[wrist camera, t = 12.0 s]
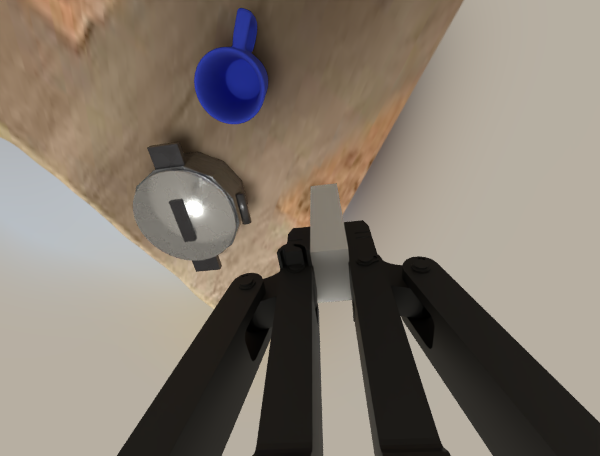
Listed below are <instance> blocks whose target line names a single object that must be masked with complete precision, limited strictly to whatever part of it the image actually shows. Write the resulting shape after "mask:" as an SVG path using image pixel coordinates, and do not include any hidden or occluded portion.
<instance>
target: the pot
mask: <svg viewBox="0 0 600 456" xmlns="http://www.w3.org/2000/svg"><path fill="white" fill-rule="evenodd" d="M147 149H148V151H149V154H150V156H151V159H152V161H153V164H154V166H155V170H154V171H153V172H152V173H151V174H149V175H148V176H147V177H146V178H145V179H144V180H143V181H142V182H141V183H140V184H139V185H138V186H137V187H136V191H137V189H138V188H139V186H140V185H141V184H142V183H143V182H144V181H145V180H146V179H148V178H149V177H150V176H152V175H154V174H155V173H158V172H161V171H165V170H174V169H177V170H186V171H190V172H193V173H197V174H199V175H201V176H203V177H205V178H207V179H209V180H210V181H212V182H213V183H214V184H216V185H217V186H218V187H219V188H220V189H221V190H222V191H223V192H224V193H225V195H226V196H227V197H228V199H229V200H230V202H231V204H232V206H233V209H234V212H235V216H236V230H235V234H234V236H233V239H232V241H231V243H230V244H229V246H230V245H232V244H233V241H234V239H235V236H236V234H237V231H238V229H239V226H240V224H241V221H242V222H243V224H249V223H251V217H250V213H249V210H248V206H247V204H248V203H247V199H246V195H245V191H244V187H243V183H242V180H241V179H240V178H239V177H238V176H237V175H236V174H235V173H234V172H233V171H232V170H231V169H230V167H229V166H228V165H227V164H226V163H225V162H224V161H222V160H219V159H216V158H214V157H211V156H209V155H206V154H203V153H201V152H191V153H183V150H182V147H181V144H180V142H174V143H167V144H160V145H153V146H149V147H148V148H147ZM135 193H136V192H135ZM229 246H228V247H229ZM192 262H193V265H194V267H195V270H196V272H197V271H208V270H218V269H221V266H222V265H221V262H220V259H219V256H218V255H217V256H215V257H212V258H209V259H206V260H196V261H193V260H192Z"/></svg>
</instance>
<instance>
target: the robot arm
mask: <svg viewBox="0 0 600 456" xmlns="http://www.w3.org/2000/svg"><path fill="white" fill-rule="evenodd" d="M277 256H278V260H279V265H280V272H279V273H277V274H275V275H273V276H271V277H268V278H265V279H262V276H260V275H259V274H256V273H247V274H243V275H241V276H239V277H237V278H236V279H235V280H234V281H233V282H232V283H231V285H230V286H229V288H228V289H227V291H226V292H225V294H224V295H223V297H222V298H221V300H220V301H219V303H218V304H217V306H216V307H215V309H214V310H213V312H212V314H211V315H210V316H209V318H208V320H207V321H206V322H205V324H204V325H203V327H202V329H201V330H200V332H199V333H198V335H197V336H196V338H195V339H194V341H193V342H192V344H191V345H190V347H189V348H188V350H187V351H186V353H185V354H184V356H183V357H182V359H181V360H180V362H179V363H178V365H177V366H176V368H175V369H174V371H173V372H172V374H171V375H170V377H169V378H168V380H167V381H166V383H165V384H164V386H163V387H162V389H161V390H160V392H159V393H158V395H157V396H156V398H155V399H154V401H153V402H152V404H151V405H150V407H149V408H148V410H147V411H146V413H145V414H144V416H143V417H142V419H141V420H140V422H139V423H138V425H137V426H136V428H135V429H134V431H133V432H132V434H131V435H130V437H129V438H128V440H127V441H126V443H125V444H124V446H123V447H122V449H121V450H120V452H119V453H118V455H117V456H222V453H223V451H224V448H225V446H226V443H227V441H228V439H229V437H230V434H231V432H232V430H233V427H234V425H235V422H236V420H237V418H238V415H239V413H240V411H241V408H242V406H243V403H244V401H245V398H246V396H247V394H248V392H249V389H250V387H251V384H252V382H253V380H254V377H255V375H256V372H257V370H258V368H259V365H260V363H261V361H262V358H263V356H264V353H265V351H266V348H267V346H268V344H269V342H270V339H271V342H270V350H269V357H268V364H267V372H266V379H265V387H264V394H263V402H262V409H261V417H260V423H259V431H258V438H257V445H256V450H255V453H254V455H252V456H323V435H322V434H323V433H322V403H321V402H322V399H321V368H320V336H319V335H320V333H319V309H318V303H321V302H333V301H346V300H352V305H353V318H354V322H355V327H356V334H357V340H358V347H359V354H360V360H361V367H362V374H363V380H364V387H365V393H366V400H367V407H368V414H369V420H370V427H371V434H372V440H373V447H374V454H375V456H450V453H449V452H448V451H447V450H446V449H445V448H444V447H443V446H442V444H441V441H440V438H439V436H438V432H437V430H436V426H435V423H434V420H433V417H432V414H431V410H430V407H429V404H428V402H427V398H426V395H425V392H424V389H423V386H422V383H421V379H420V376H419V373H418V370H417V367H416V364H415V361H414V358H413V354H412V351H411V348H410V345H409V342H408V339H407V336H406V332H405V329H404V326H403V323H402V320H401V317H402V319H403V321H404V323H405V324H406V326H407V327H408V329H409V330H410V332H411V333H412V335H413V336H414V338H415V339H416V341H417V342H418V344H419V345H420V347H421V348H422V350H423V351H424V353H425V354H426V356H427V357H428V359H429V360H430V362H431V363H432V365H433V366H434V368H435V369H436V371H437V372H438V374H439V375H440V377H441V378H442V380H443V381H444V383H445V384H446V386H447V387H448V389H449V390H450V392H451V393H452V395H453V396H454V398H455V399H456V401H457V402H458V404H459V405H460V407H461V408H462V410H463V411H464V413H465V414H466V416H467V417H468V419H469V420H470V422H471V423H472V425H473V426H474V428H475V429H476V431H477V432H478V434H479V435H480V437H481V438H482V440H483V441H484V443H485V444H486V446H487V447H488V449H489V450H490V452H491V453H492V455H493V456H600V423H599V422H598V421H597V420H596V419H595V418H594V417H593V416H592V415H591V414H590V413H589V412H588V411H587V410H586V409H585V408H584V407H583V406H582V405H581V404H580V403H579V402H578V401H577V400H576V399H575V398H574V397H573V396H572V395H571V394H570V393H569V392H568V391H567V390H566V389H565V388H564V387H563V386H562V385H561V384H560V383H559V382H558V381H557V380H556V379H555V378H554V377H553V376H552V375H551V374H549V373H548V371H547V370H545V369H544V368H543V367H542V366H541V365H540V364H539V363H538V362H537V361H536V360H535V359H534V358H533V357H532V356H531V355H530V354H529V353H528V352H527V351H526V350H525V349H524V348H523V347H522V346H521V345H520V344H519V343H518V342H517V341H516V340H515V339H514V338H513V337H512V336H511V335H510V334H509V333H508V332H507V331H506V330H505V329H504V328H503V327H502V326H501V325H500V324H499V323H498V322H496V320H495V319H493V317H491V315H489V314H488V313H487V312H486V311H485V310H484V309H483V308H482V307H481V306H480V305H479V304H478V303H477V302H476V301H475V300H474V299H473V298H472V297H471V296H470V295H469V294H468V293H467V292H466V291H465V290H464V289H463V288H462V287H461V286H460V285H459V284H458V283H457V282H456V281H455V280H454V279H453V278H452V277H451V276H450V275H449V274H448V273H447V272H446V271H445V270H444V269H443V268H442V267H441V266H440V265H439V264H438V263H436V262H435V261H433V260H432V259H429V258H426V257H411V258H409V259H407V260H406V261H405V262H404V263H403V265H395V264H390V263H387V262H385V261H383V260H382V258H381V257H380V256H379V255H378V254H377V252H376V248H375V245H374V242H373V239H372V236H371V232H370V229H369V226H368V225H367V224H366V223H365V222H364V221H363V220H362V221H353V222H343V216H342V211H341V205H340V199H339V194H338V188H337V183H336V184H328V185H319V186H311V215H310V227H303V228H293V229H292V230H291V232H290V233H289V234H288V242H287V244H286V245H283V246H282V247H281V248H279V249H278V251H277ZM317 300H318V301H317ZM400 316H401V317H400Z"/></svg>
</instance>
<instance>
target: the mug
mask: <svg viewBox="0 0 600 456" xmlns="http://www.w3.org/2000/svg"><path fill="white" fill-rule="evenodd" d="M256 35H257V21H256V18H255V17H254V15H253V14H252V13H251V11H249V10H247V9H244V8H239V9H238V11H237V16H236V21H235V27H234V34H233V45H232V46H231V47H220V48H216V49H214V50H211V51H210V52H208V53H207V54H206V55H205V56H204V57H203V58H202V59H201V60H200V62H199V64H198V66H197V68H196V72H195V79H194V83H195V91H196V94H197V97H198V99H199V101H200V103H201V105H202V106H203V108H204V109H205V110H206V111H207V112H208V113H209V114H210V115H211V116H212V117H214V118H215V119H217V120H219V121H221V122H224V123H228V124H240V123H244V122H246V121H248V120H250V119H251V118H253V117H254V116H255V115H256V114H257V113H258V112H259V110H260V108H261V106H262V104H263V101H264V98H265V95H266V92H267V89H268V75H267V72H266V69H265V67H264V66H263V64H262V63H261V61H260V60H259V59H258V58H256V57H255V56H254V55H253V54H252V53H251V52H252V51H253V49H254V45H255V41H256Z"/></svg>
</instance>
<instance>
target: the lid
mask: <svg viewBox="0 0 600 456" xmlns="http://www.w3.org/2000/svg"><path fill="white" fill-rule="evenodd" d="M133 212H134V217H135V220H136V223H137V225H138V227H139V229H140V230H141V232H142V233H143V235H144V236H145V237H146V238H147V239H148V240H149V241H150V242H151V243H152V244H153V245H154V246H155V247H157V248H158V249H160V250H161V251H163V252H165V253H167V254H169V255H171V256H174V257H176V258H180V259H184V260H193V261H196V260H206V259H209V258H212V257H215V256H217V255H219V254H220V253H222V252H223V251H224V250H225V249H226V248H227V247H228V246H229V244H230V243H231V241H232V239H233V236H234V234H235V230H236V216H235V212H234V209H233V206H232V204H231V202H230V200H229V199H228V197H227V196H226V195H225V193H224V192H223V191H222V190H221V189H220V188H219V187H218V186H217V185H216V184H214V183H213V182H212V181H210V180H209V179H207V178H205V177H203V176H201V175H199V174H197V173H193V172H190V171H186V170H177V169H174V170H165V171H161V172H158V173H155V174H154V175H152V176H150V177H149V178H148V179H146V180H145V181H144V182H143V183H142V184H141V185H140V186H139V188H138V189H137V191H136V193H135V196H134V200H133Z"/></svg>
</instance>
